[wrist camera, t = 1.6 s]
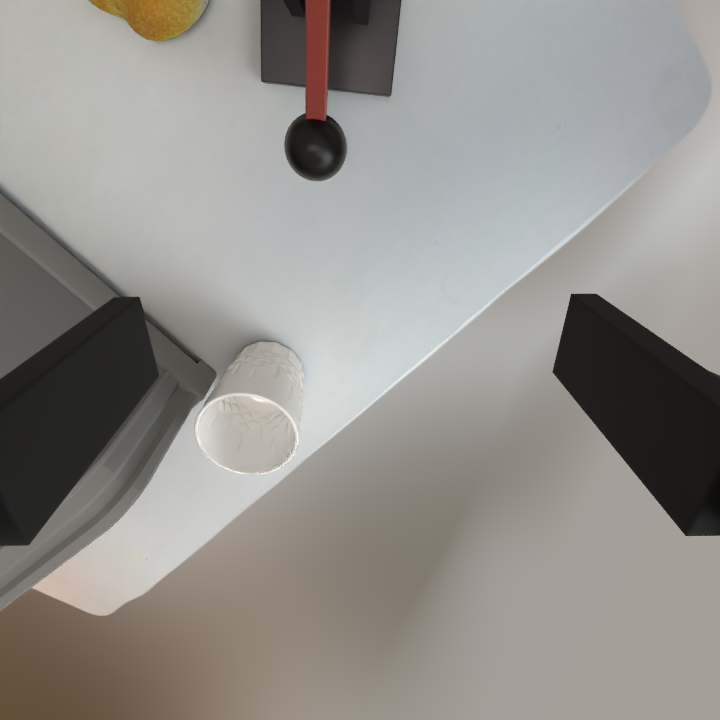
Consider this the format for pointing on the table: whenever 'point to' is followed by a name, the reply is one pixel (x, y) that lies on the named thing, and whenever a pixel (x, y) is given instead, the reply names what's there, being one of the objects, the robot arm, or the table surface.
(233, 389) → the white cup
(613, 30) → the table surface
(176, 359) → the toaster
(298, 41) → the bracket
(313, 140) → the lever
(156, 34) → the bread roll
